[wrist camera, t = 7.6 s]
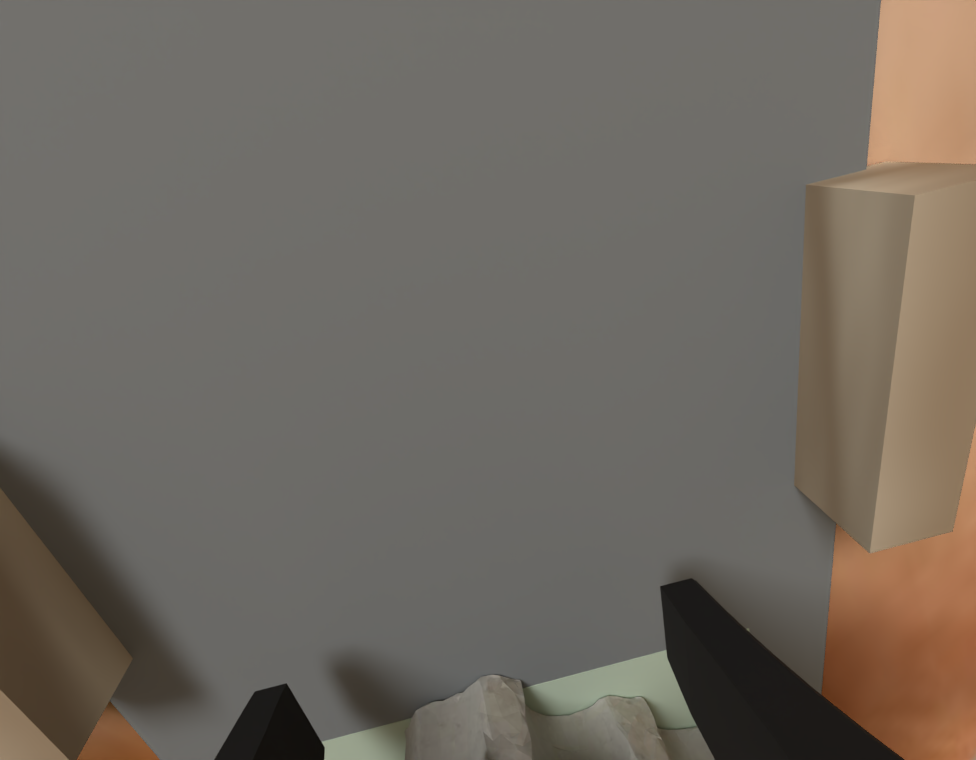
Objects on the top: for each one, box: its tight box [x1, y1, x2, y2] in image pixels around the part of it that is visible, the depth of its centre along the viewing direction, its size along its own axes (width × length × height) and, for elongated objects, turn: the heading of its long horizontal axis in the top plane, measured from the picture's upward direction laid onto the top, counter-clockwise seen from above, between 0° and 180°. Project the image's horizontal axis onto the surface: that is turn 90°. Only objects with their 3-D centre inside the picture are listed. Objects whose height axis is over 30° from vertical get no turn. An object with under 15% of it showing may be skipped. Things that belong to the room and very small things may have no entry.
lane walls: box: [0, 162, 976, 760], centre depth 9 cm, size 17×6×2 cm, turn 103°
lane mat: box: [0, 0, 881, 760], centre depth 10 cm, size 16×37×1 cm, turn 13°
